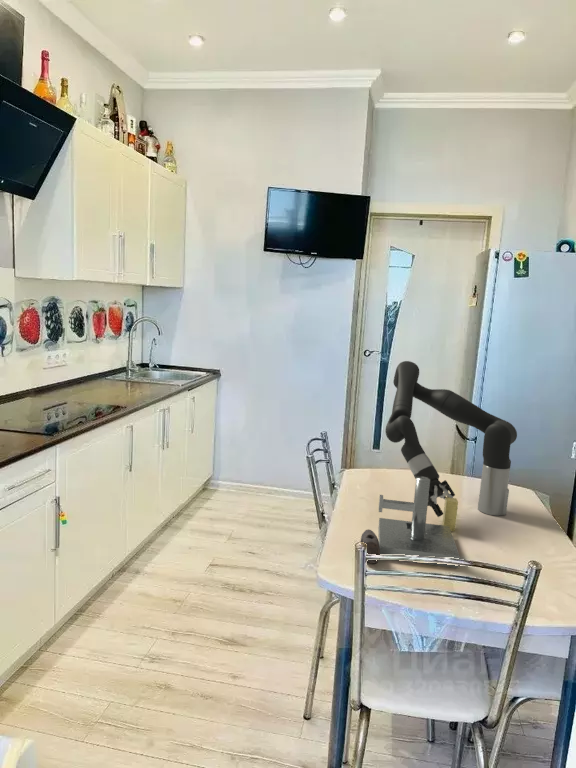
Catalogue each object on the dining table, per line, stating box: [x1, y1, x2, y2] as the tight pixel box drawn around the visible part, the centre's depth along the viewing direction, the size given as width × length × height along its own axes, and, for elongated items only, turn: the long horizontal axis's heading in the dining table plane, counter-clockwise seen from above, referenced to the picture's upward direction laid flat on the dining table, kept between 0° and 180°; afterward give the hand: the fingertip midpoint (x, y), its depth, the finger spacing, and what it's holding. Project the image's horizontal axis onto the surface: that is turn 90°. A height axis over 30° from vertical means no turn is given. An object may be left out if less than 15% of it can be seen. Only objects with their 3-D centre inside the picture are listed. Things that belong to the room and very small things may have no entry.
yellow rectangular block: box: [441, 496, 459, 532], centre depth 181 cm, size 4×4×10 cm
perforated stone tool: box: [359, 529, 380, 564], centre depth 158 cm, size 15×5×7 cm, turn 175°
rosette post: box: [377, 476, 461, 569], centre depth 164 cm, size 23×22×22 cm
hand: (448, 513), depth 181 cm, fingers open, 8 cm apart
